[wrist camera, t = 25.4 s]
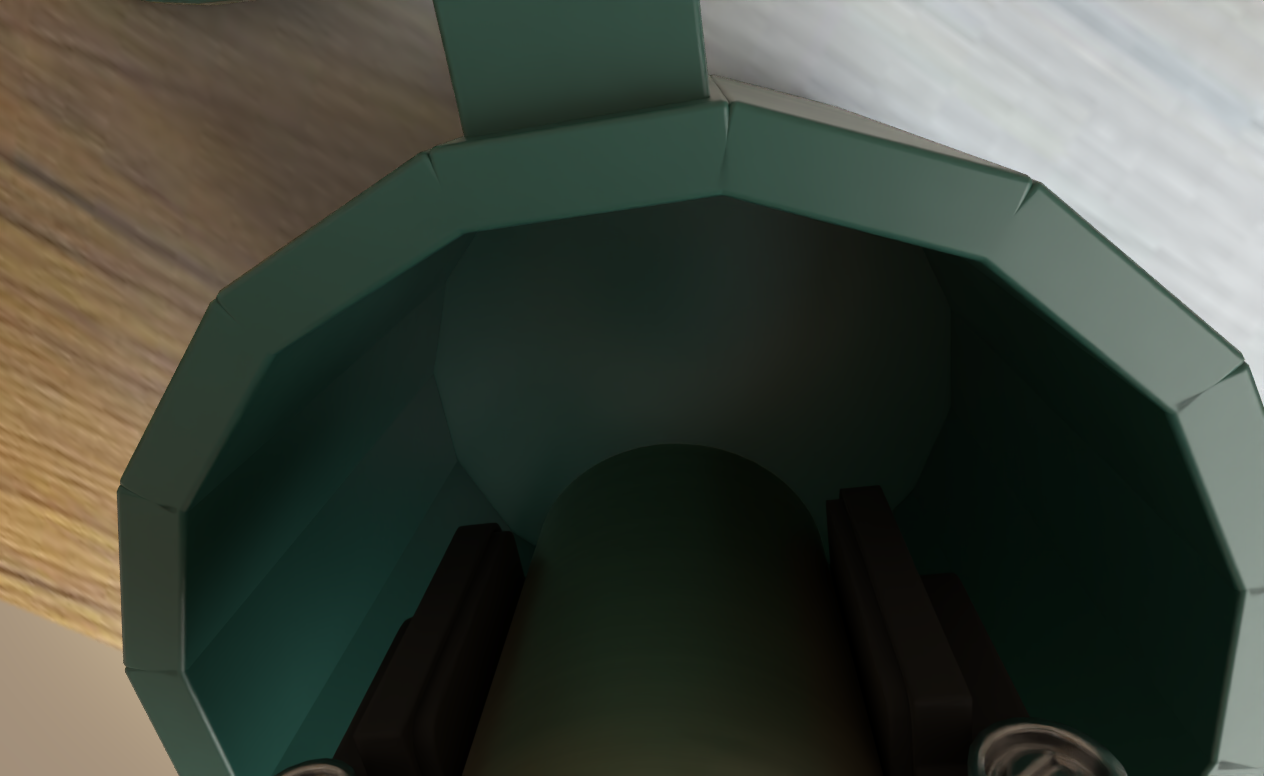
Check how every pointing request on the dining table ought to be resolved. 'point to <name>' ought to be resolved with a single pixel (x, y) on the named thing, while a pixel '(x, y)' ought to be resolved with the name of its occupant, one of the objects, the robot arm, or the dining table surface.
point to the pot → (694, 395)
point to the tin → (676, 633)
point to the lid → (197, 2)
